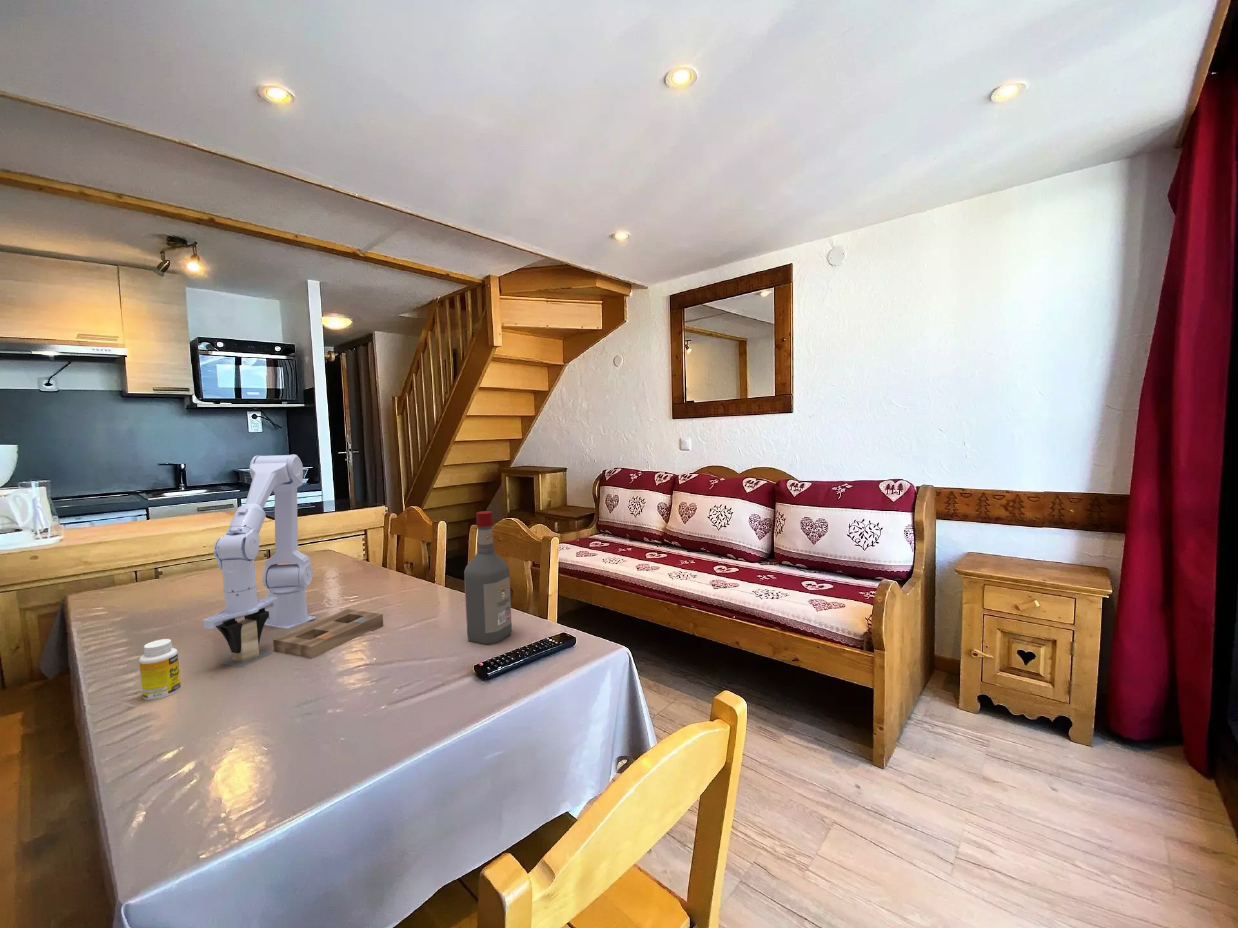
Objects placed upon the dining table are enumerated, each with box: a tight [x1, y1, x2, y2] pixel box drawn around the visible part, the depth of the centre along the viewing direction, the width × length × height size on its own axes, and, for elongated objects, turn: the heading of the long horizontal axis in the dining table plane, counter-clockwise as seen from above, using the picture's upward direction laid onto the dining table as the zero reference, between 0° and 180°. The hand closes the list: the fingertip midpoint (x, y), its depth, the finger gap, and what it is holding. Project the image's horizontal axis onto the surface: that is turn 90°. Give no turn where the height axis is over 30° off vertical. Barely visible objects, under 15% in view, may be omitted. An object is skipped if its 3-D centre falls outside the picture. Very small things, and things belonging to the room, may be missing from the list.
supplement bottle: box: [138, 638, 182, 701], centre depth 100 cm, size 6×6×10 cm
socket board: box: [272, 608, 384, 659], centre depth 125 cm, size 12×20×3 cm, turn 159°
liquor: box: [463, 510, 513, 645], centre depth 123 cm, size 9×9×30 cm
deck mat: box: [218, 649, 273, 668], centre depth 114 cm, size 7×7×1 cm
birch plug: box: [232, 618, 260, 662], centre depth 114 cm, size 3×3×8 cm
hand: (245, 648), depth 114 cm, fingers closed on birch plug, 3 cm apart
